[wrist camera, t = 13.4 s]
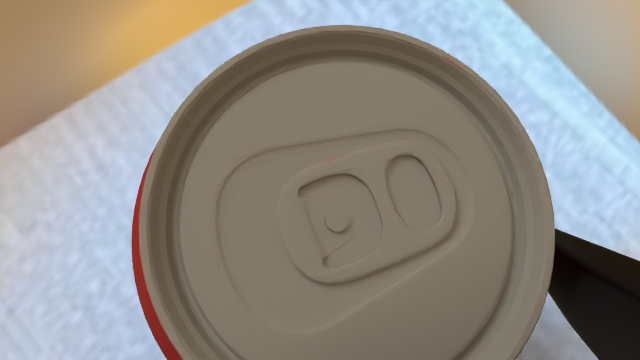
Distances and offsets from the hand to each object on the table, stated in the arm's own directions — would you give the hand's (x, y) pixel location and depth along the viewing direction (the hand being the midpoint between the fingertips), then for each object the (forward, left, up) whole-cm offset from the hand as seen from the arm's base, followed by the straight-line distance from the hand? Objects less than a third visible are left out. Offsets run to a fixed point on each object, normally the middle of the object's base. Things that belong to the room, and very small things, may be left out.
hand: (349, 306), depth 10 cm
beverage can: (+1, -1, -8) cm, 8 cm away
